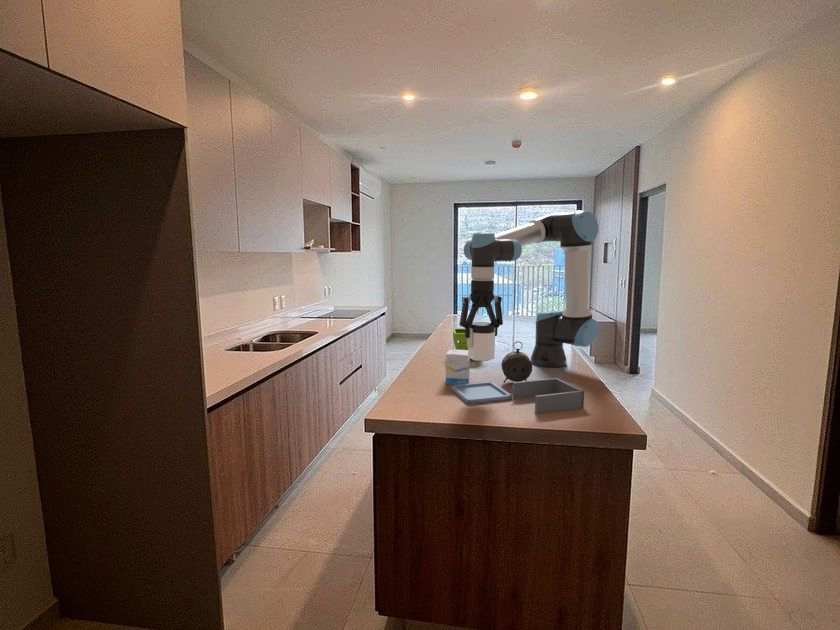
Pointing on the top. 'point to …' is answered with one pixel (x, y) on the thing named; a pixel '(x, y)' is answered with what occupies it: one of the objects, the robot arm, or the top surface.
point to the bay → (550, 394)
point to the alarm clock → (516, 366)
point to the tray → (480, 392)
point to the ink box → (457, 367)
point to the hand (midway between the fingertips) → (480, 346)
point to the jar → (482, 341)
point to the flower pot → (460, 339)
